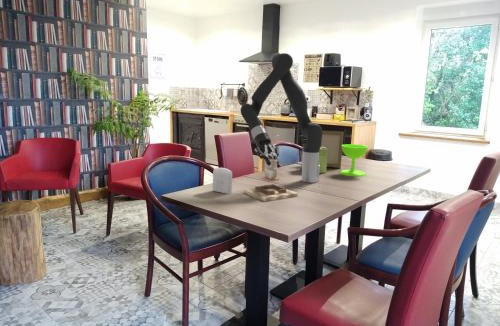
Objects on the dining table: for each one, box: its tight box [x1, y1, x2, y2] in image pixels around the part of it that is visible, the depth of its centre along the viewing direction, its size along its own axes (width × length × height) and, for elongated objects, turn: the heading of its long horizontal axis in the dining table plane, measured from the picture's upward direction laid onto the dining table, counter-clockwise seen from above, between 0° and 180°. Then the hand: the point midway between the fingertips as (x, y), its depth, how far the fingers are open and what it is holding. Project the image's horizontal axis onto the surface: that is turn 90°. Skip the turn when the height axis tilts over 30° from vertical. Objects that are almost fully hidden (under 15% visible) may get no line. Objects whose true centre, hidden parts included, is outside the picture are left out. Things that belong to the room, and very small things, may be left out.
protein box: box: [300, 146, 328, 174], centre depth 241 cm, size 10×15×16 cm
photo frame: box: [321, 130, 344, 169], centre depth 259 cm, size 15×22×25 cm
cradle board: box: [243, 184, 299, 203], centre depth 183 cm, size 20×18×3 cm
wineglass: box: [339, 143, 369, 178], centre depth 235 cm, size 16×16×18 cm
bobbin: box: [261, 158, 280, 182], centre depth 181 cm, size 6×6×10 cm
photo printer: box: [212, 167, 233, 195], centre depth 185 cm, size 10×4×12 cm, turn 60°
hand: (273, 164), depth 179 cm, fingers closed on bobbin, 4 cm apart
